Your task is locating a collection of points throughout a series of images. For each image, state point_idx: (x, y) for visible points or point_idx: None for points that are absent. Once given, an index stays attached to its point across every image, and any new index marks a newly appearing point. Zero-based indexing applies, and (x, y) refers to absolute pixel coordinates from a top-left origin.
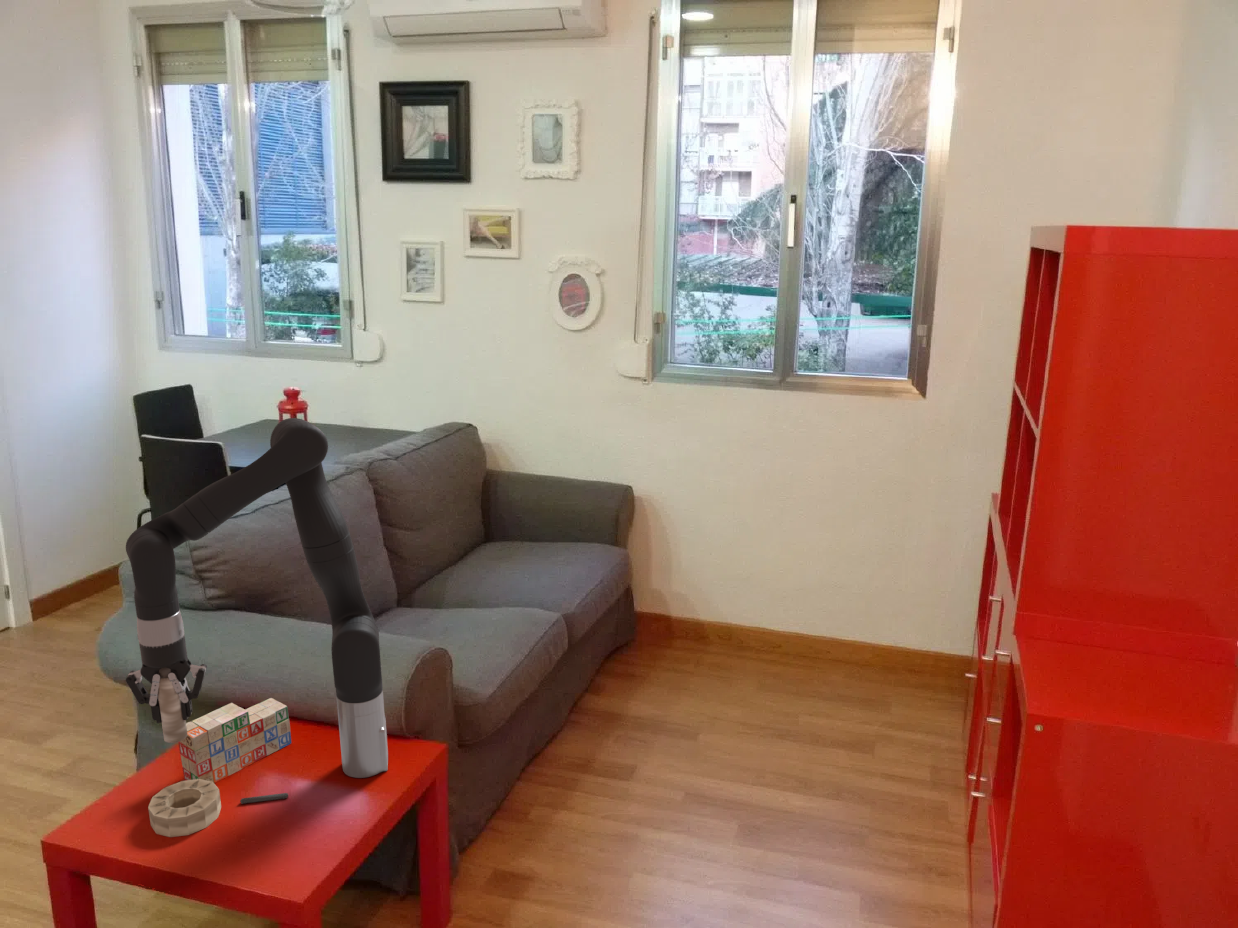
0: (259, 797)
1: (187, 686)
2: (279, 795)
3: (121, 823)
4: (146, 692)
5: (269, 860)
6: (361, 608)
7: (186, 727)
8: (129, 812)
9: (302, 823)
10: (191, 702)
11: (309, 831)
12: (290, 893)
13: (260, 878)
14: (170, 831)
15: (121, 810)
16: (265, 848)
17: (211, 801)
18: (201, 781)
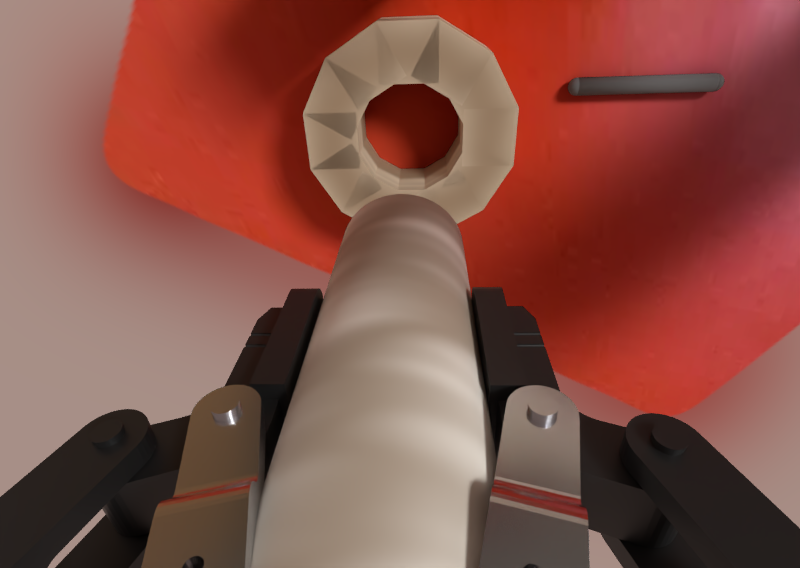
0: (631, 89)
1: (576, 502)
2: (696, 89)
3: (234, 123)
4: (120, 484)
5: (627, 327)
6: None
7: (466, 266)
8: (232, 69)
9: (727, 217)
10: (551, 369)
11: (736, 251)
12: (656, 409)
13: (605, 368)
14: None
15: (201, 52)
16: (622, 290)
17: (500, 174)
18: (449, 39)
